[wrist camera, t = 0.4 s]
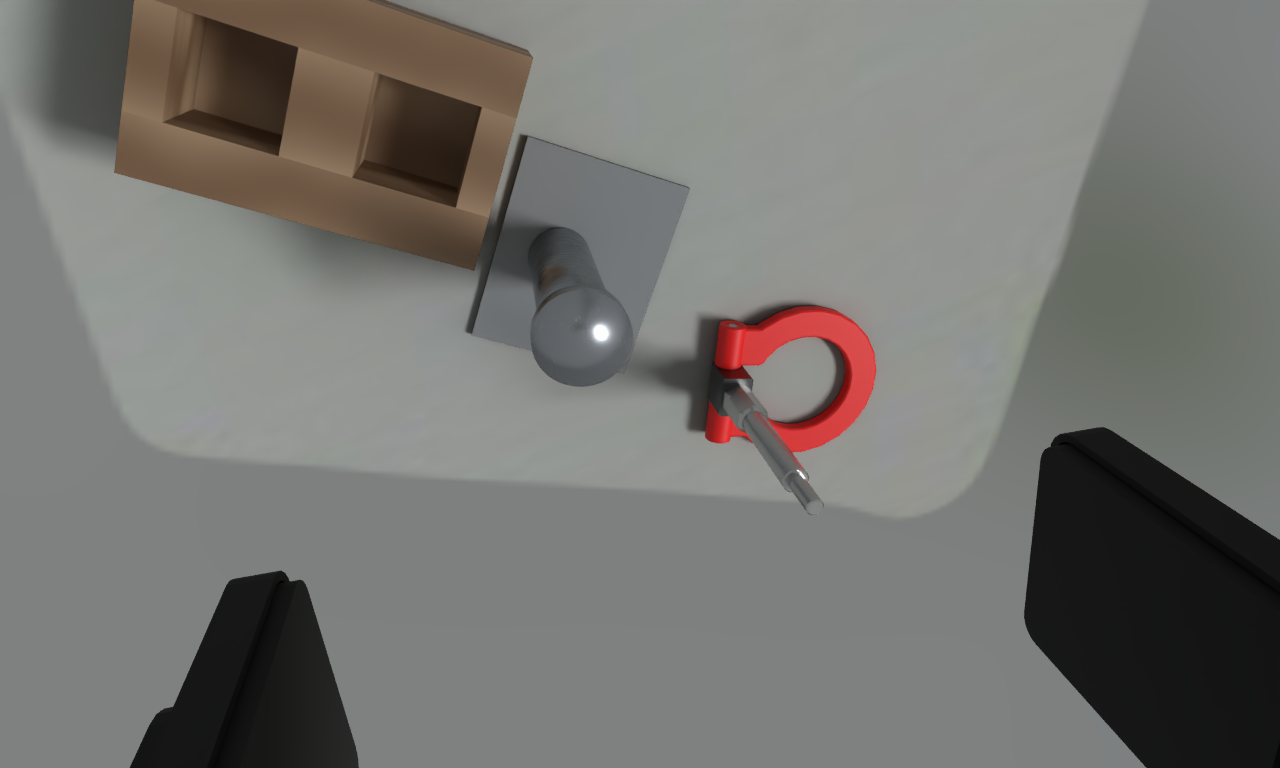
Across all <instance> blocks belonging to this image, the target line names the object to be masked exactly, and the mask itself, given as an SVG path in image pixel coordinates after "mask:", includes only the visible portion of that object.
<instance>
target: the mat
mask: <svg viewBox="0 0 1280 768" xmlns="http://www.w3.org/2000/svg"><path fill="white" fill-rule="evenodd" d="M689 190H690V188H689V187H686V186H683V185H679V184H676V183H673V182H670V181H667V180H664V179H661V178H658V177H655V176H652V175H648V174H645V173H642V172H639V171H636V170H633V169H630V168H627V167H624V166H620V165H617V164H614V163H611V162H608V161H605V160H602V159H599V158H596V157H592V156H589V155H586V154H583V153H580V152H577V151H574V150H571V149H568V148H565V147H561V146H558V145H555V144H552V143H549V142H546V141H543V140H540V139H537V138H533V137H530V136H527V140H526V143H525V147H524V150H523V154H522V157H521V161H520V164H519V168H518V171H517V175H516V179H515V182H514V186H513V189H512V193H511V196H510V200H509V203H508V207H507V210H506V214H505V217H504V221H503V224H502V228H501V232H500V235H499V239H498V242H497V246H496V249H495V253H494V256H493V260H492V263H491V267H490V270H489V274H488V277H487V281H486V285H485V288H484V292H483V295H482V299H481V302H480V306H479V309H478V313H477V316H476V320H475V323H474V327H473V330H472V336H476V337H480V338H484V339H488V340H492V341H496V342H500V343H504V344H508V345H512V346H516V347H520V348H524V349H527V350H531V351H532V346H531V339H530V326H531V322H532V318H533V316H534V313H535V311H536V304H535V298H534V292H533V286H532V280H531V274H530V268H529V262H528V253H529V249H530V246H531V244H532V242H533V240H534V239H535V238H536V237H537V236H538V235H539V234H540V233H542V232H543V231H545V230H547V229H550V228H554V227H565V228H569V229H572V230H574V231H576V232H577V233H579V234H580V235H581V236H582V237H583V238H584V239H585V241H586V242H587V244H588V247H589V249H590V252H591V254H592V256H593V259H594V261H595V264H596V266H597V269H598V271H599V274H600V276H601V279H602V281H603V284H604V286H605V288H606V290H607V291H608V292H610V293H611V294H613V295H614V296H615V297H616V298H617V299H618V300H619V301H620V302H621V303H622V305H623V307H624V308H625V310H626V312H627V315H628V317H629V319H630V321H631V325H632V329H633V345H632V349H633V347H634V344H635V341H636V338H637V335H638V333H639V330H640V327H641V324H642V321H643V319H644V316H645V313H646V310H647V307H648V305H649V302H650V299H651V296H652V293H653V291H654V288H655V285H656V282H657V279H658V277H659V274H660V271H661V268H662V265H663V263H664V260H665V257H666V254H667V251H668V249H669V246H670V243H671V240H672V237H673V235H674V232H675V229H676V226H677V223H678V221H679V218H680V215H681V212H682V209H683V207H684V204H685V201H686V198H687V195H688V193H689ZM632 349H631V352H632ZM630 355H631V353H630ZM630 355H629V357H628V359H627V361H626V363H625V364H624V365H623V367H622V368H621V369H620V370H619V371H618V372H619V373H623V374H624V372H625V369H626V366H627V363H628V361H629V358H630Z"/></svg>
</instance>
